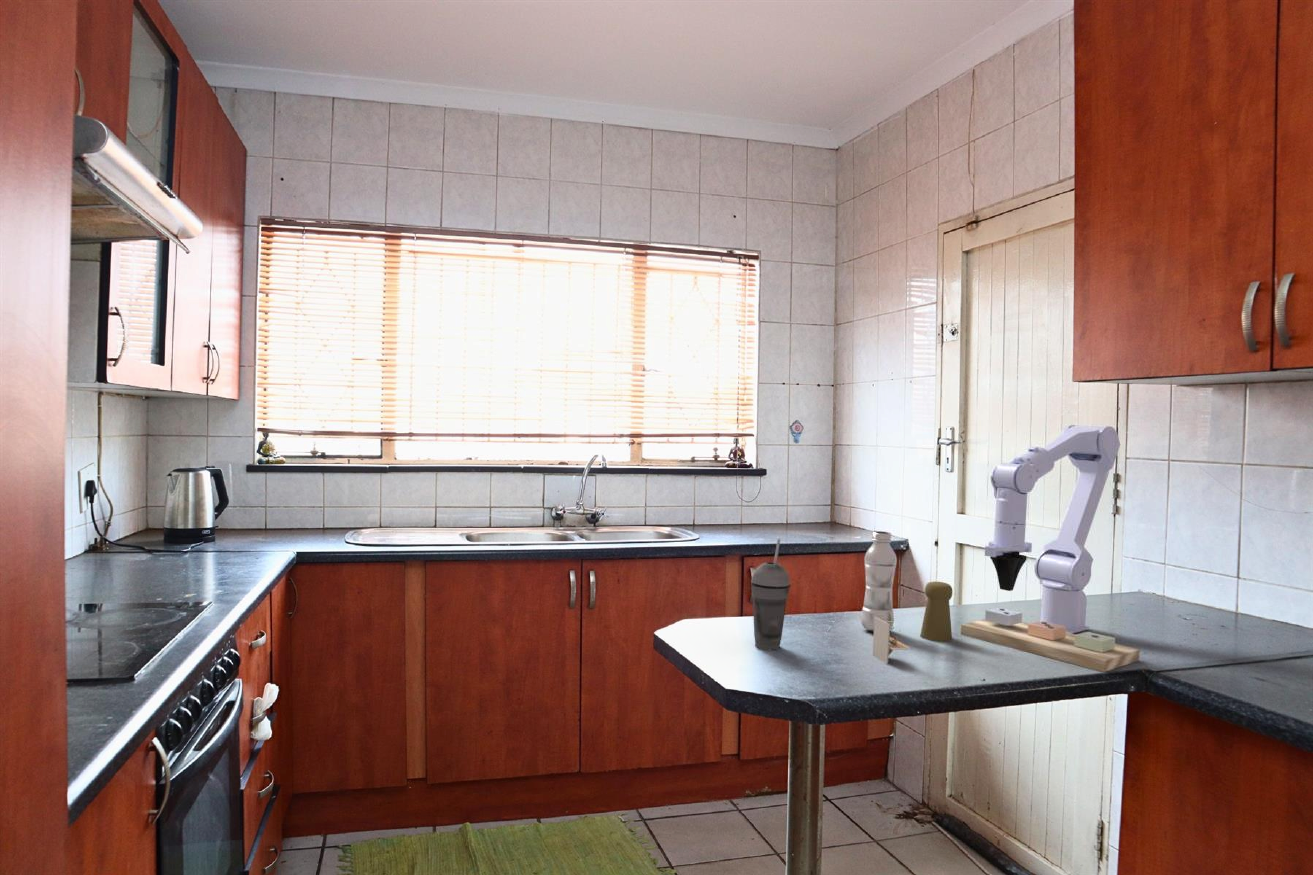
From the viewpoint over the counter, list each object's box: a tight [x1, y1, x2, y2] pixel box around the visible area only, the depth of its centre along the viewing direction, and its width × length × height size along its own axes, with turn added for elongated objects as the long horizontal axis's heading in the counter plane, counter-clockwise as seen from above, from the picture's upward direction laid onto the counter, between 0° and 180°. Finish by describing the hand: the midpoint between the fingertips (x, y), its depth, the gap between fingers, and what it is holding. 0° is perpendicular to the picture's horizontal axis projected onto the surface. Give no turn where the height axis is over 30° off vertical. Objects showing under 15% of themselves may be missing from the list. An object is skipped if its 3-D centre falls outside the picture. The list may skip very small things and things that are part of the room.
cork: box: [919, 581, 954, 643], centre depth 164 cm, size 6×6×11 cm
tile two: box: [984, 607, 1023, 626], centre depth 168 cm, size 5×5×2 cm
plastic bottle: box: [860, 530, 898, 632], centre depth 167 cm, size 6×7×20 cm
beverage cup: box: [750, 538, 791, 651], centre depth 152 cm, size 7×7×20 cm
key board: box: [960, 618, 1141, 673], centre depth 161 cm, size 14×28×2 cm, turn 38°
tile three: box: [1028, 620, 1067, 640], centre depth 161 cm, size 5×5×2 cm
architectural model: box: [872, 617, 910, 665], centre depth 147 cm, size 3×7×8 cm, turn 11°
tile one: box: [1074, 631, 1116, 653], centre depth 154 cm, size 5×5×2 cm
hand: (1006, 589), depth 168 cm, fingers closed
